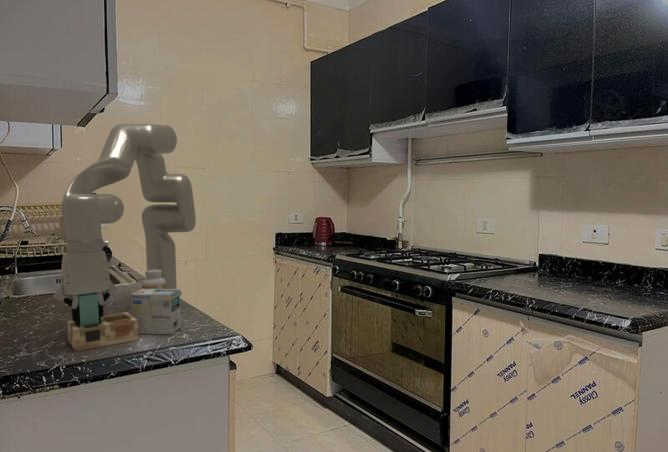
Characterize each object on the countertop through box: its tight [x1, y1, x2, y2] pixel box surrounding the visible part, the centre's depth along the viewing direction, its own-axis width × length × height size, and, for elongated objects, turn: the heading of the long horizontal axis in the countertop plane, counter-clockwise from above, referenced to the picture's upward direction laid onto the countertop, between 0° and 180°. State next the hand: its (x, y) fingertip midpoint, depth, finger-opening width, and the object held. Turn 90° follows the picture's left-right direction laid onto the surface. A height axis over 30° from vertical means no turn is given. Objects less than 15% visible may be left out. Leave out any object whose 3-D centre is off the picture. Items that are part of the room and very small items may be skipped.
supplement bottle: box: [141, 269, 166, 289], centre depth 148 cm, size 7×7×13 cm
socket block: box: [66, 311, 139, 352], centre depth 122 cm, size 10×14×5 cm
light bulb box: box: [131, 288, 182, 335], centre depth 130 cm, size 11×7×11 cm, turn 89°
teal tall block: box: [78, 293, 99, 327], centre depth 120 cm, size 4×4×11 cm
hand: (88, 321), depth 120 cm, fingers closed on teal tall block, 3 cm apart
